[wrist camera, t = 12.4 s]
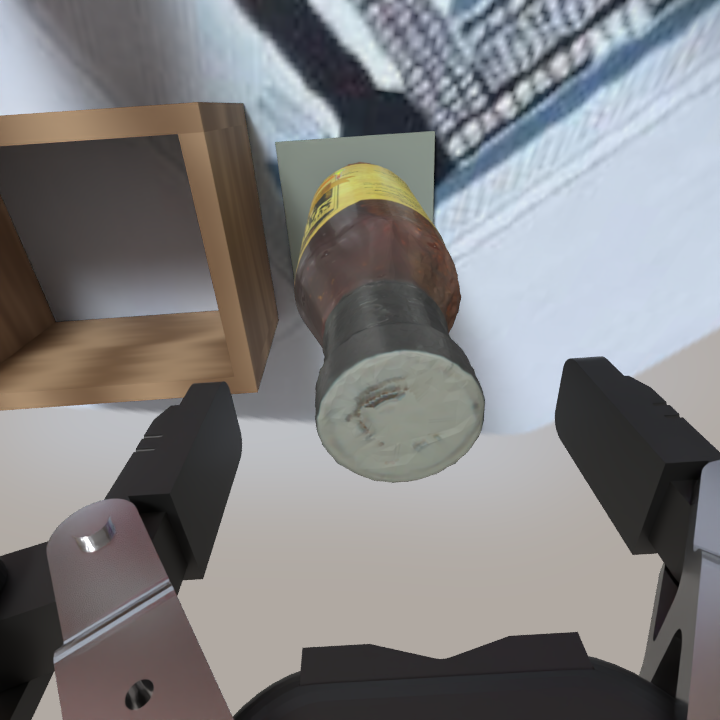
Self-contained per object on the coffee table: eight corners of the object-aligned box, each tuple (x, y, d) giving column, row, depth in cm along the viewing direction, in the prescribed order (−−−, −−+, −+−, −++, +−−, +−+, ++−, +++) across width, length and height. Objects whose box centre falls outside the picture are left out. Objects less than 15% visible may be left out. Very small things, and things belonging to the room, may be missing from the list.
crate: (243, 103, 25) (197, 102, 17) (278, 319, 31) (257, 392, 23) (-50, 123, 24) (-233, 131, 17) (46, 336, 31) (-53, 414, 23)
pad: (433, 131, 26) (434, 131, 25) (430, 281, 30) (431, 283, 30) (276, 142, 26) (275, 142, 25) (296, 291, 30) (296, 293, 30)
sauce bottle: (309, 157, 26) (247, 263, 8) (418, 161, 26) (574, 270, 9) (311, 268, 29) (269, 511, 12) (408, 271, 29) (508, 509, 12)
